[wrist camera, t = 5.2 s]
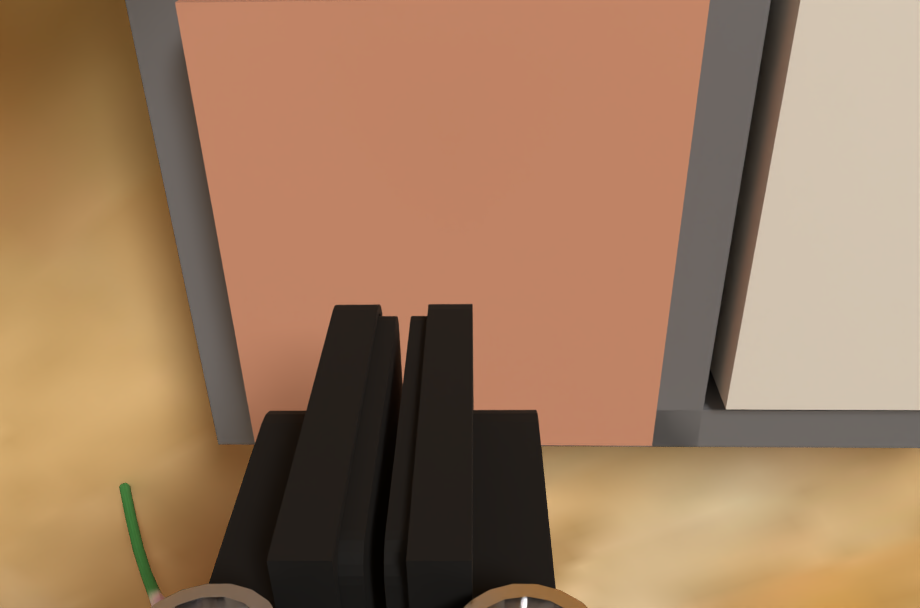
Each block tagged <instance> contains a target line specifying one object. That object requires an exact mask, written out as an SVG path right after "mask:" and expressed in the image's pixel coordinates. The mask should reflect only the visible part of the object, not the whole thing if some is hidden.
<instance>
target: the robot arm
mask: <svg viewBox="0 0 920 608" xmlns="http://www.w3.org/2000/svg"><path fill="white" fill-rule="evenodd" d="M151 608H587V607H586V606H585V605H584V604H583V603H582V602H581V601H579V600H577V599H575V598H573V597H572V596H570V595H568V594H566V593H565V592H563V591H561V590H558V589H556V588H555V578H554V568H553V558H552V548H551V538H550V528H549V519H548V509H547V499H546V489H545V479H544V469H543V459H542V449H541V439H540V430H539V420H538V413H537V410H474V394H473V304H429V305H428V313H427V316H411V319H410V327H409V336H408V344H407V353H406V361H405V370H404V378H403V381H402V365H401V349H400V333H399V321H398V317H397V316H382V309H381V306H380V304H374V305H335V306H334V309H333V312H332V316H331V319H330V323H329V327H328V331H327V334H326V338H325V342H324V346H323V349H322V353H321V357H320V361H319V365H318V368H317V372H316V376H315V380H314V383H313V387H312V391H311V395H310V398H309V402H308V406H307V410H306V411H269V412H268V413H267V414H266V415H265V417H264V419H263V421H262V424H261V427H260V430H259V433H258V436H257V439H256V442H255V445H254V448H253V451H252V454H251V457H250V460H249V463H248V466H247V469H246V472H245V475H244V478H243V481H242V484H241V487H240V491H239V494H238V497H237V500H236V503H235V506H234V509H233V512H232V515H231V518H230V521H229V524H228V527H227V530H226V533H225V536H224V539H223V542H222V545H221V548H220V551H219V554H218V557H217V560H216V563H215V566H214V569H213V572H212V576H211V579H210V582H209V584H204V585H200V586H196V587H192V588H188V589H184V590H181V591H179V592H177V593H175V594H173V595H171V596H169V597H167V598H165V599H163V600H160V601H158V602H157V603H156V604H154V605H153V606H152V607H151Z"/></svg>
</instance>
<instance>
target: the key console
mask: <svg viewBox="0 0 920 608" xmlns="http://www.w3.org/2000/svg"><path fill="white" fill-rule="evenodd" d="M177 1H178V0H125V2H126V7H127V11H128V16H129V21H130V26H131V31H132V35H133V40H134V45H135V50H136V54H137V59H138V64H139V69H140V73H141V78H142V83H143V88H144V92H145V97H146V102H147V107H148V111H149V116H150V121H151V126H152V130H153V135H154V140H155V145H156V149H157V154H158V159H159V164H160V168H161V173H162V178H163V183H164V187H165V192H166V197H167V202H168V206H169V211H170V216H171V221H172V225H173V230H174V235H175V240H176V245H177V249H178V254H179V259H180V264H181V268H182V273H183V278H184V283H185V287H186V292H187V297H188V302H189V306H190V311H191V316H192V321H193V325H194V330H195V335H196V340H197V344H198V349H199V354H200V359H201V363H202V368H203V373H204V378H205V382H206V387H207V392H208V397H209V401H210V406H211V411H212V416H213V420H214V425H215V430H216V435H217V440H218V444H255V441H254V435H253V430H252V424H251V419H250V413H249V408H248V402H247V397H246V391H245V386H244V380H243V375H242V369H241V364H240V358H239V353H238V347H237V342H236V336H235V330H234V325H233V319H232V314H231V308H230V303H229V297H228V292H227V286H226V281H225V275H224V270H223V264H222V259H221V253H220V248H219V242H218V237H217V231H216V226H215V220H214V215H213V209H212V204H211V198H210V193H209V187H208V182H207V176H206V171H205V165H204V160H203V154H202V149H201V143H200V138H199V132H198V127H197V121H196V116H195V110H194V105H193V99H192V94H191V88H190V83H189V77H188V72H187V66H186V61H185V55H184V50H183V44H182V39H181V33H180V27H179V22H178V16H177V11H176V5H175V2H177ZM770 3H771V0H710V4H709V11H708V19H707V27H706V34H705V42H704V50H703V57H702V65H701V73H700V80H699V88H698V96H697V104H696V111H695V119H694V127H693V134H692V142H691V150H690V157H689V165H688V173H687V180H686V188H685V196H684V203H683V211H682V219H681V226H680V234H679V242H678V250H677V257H676V265H675V273H674V280H673V288H672V296H671V303H670V311H669V319H668V326H667V334H666V342H665V349H664V357H663V365H662V373H661V380H660V388H659V396H658V403H657V411H656V419H655V426H654V434H653V442H652V446H646V447H841V448H920V410H751V409H725V406H724V404H723V401H722V398H721V396H720V393H719V391H718V388H717V385H716V383H715V380H714V378H713V375H712V372H711V370H710V365H711V359H712V353H713V347H714V341H715V335H716V329H717V323H718V317H719V311H720V305H721V299H722V293H723V287H724V281H725V275H726V269H727V263H728V257H729V250H730V244H731V238H732V232H733V226H734V220H735V214H736V208H737V202H738V196H739V190H740V184H741V178H742V172H743V166H744V160H745V154H746V148H747V142H748V136H749V130H750V124H751V118H752V112H753V106H754V100H755V94H756V87H757V81H758V75H759V69H760V63H761V57H762V51H763V45H764V39H765V33H766V27H767V21H768V15H769V9H770ZM541 446H589V445H541Z"/></svg>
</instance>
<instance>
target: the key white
mask: <svg viewBox="0 0 920 608" xmlns="http://www.w3.org/2000/svg"><path fill="white" fill-rule="evenodd" d="M710 370H711V372H712V375H713V378H714V380H715V383H716V385H717V388H718V391H719V393H720V396H721V398H722V401H723V404H724V406H725V409H751V410H920V0H771V3H770V9H769V15H768V21H767V27H766V33H765V39H764V45H763V51H762V57H761V63H760V69H759V75H758V81H757V87H756V94H755V100H754V106H753V112H752V118H751V124H750V130H749V136H748V142H747V148H746V154H745V160H744V166H743V172H742V178H741V184H740V190H739V196H738V202H737V208H736V214H735V220H734V226H733V232H732V238H731V244H730V250H729V257H728V263H727V269H726V275H725V281H724V287H723V293H722V299H721V305H720V311H719V317H718V323H717V329H716V335H715V341H714V347H713V353H712V359H711V365H710Z"/></svg>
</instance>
